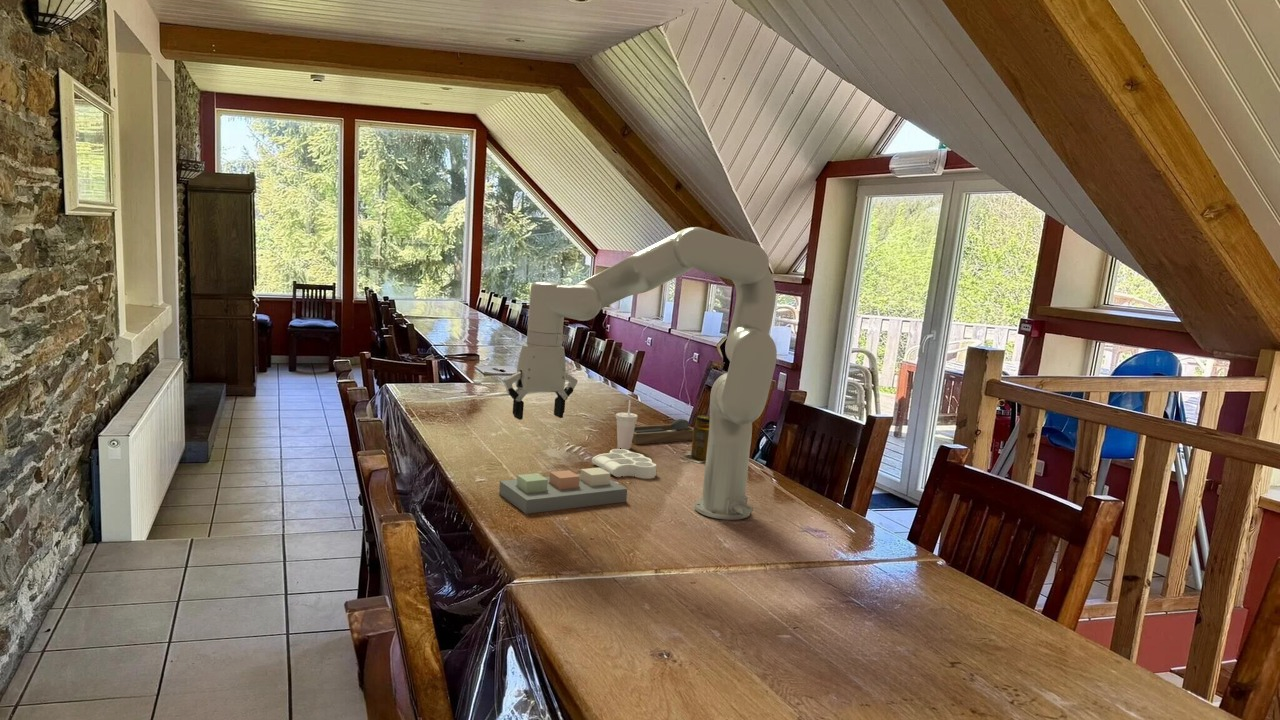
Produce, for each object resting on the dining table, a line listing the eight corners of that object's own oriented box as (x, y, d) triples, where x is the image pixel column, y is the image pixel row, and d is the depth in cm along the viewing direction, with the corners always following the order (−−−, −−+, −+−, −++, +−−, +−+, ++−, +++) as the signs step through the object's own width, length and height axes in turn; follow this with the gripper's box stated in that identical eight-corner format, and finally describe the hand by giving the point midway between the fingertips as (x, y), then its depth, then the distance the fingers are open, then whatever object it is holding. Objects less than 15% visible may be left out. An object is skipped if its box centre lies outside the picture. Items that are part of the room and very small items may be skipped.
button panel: (626, 501, 183) (627, 488, 182) (525, 513, 169) (526, 500, 169) (595, 483, 194) (596, 471, 194) (499, 493, 181) (500, 480, 180)
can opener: (680, 435, 253) (682, 416, 252) (690, 439, 249) (692, 419, 248) (630, 439, 242) (632, 419, 241) (639, 444, 238) (641, 423, 237)
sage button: (546, 497, 176) (547, 479, 176) (525, 499, 174) (526, 481, 173) (536, 490, 180) (537, 473, 180) (516, 492, 178) (517, 475, 177)
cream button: (609, 490, 185) (610, 473, 185) (590, 492, 182) (591, 475, 182) (598, 483, 189) (599, 467, 189) (579, 485, 187) (580, 469, 186)
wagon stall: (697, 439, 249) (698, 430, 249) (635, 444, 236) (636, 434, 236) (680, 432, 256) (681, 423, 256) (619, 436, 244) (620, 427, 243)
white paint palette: (585, 463, 213) (633, 459, 221) (619, 482, 198) (668, 478, 206) (586, 450, 213) (634, 447, 221) (620, 469, 198) (669, 465, 205)
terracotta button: (578, 493, 181) (579, 476, 180) (558, 495, 178) (560, 478, 177) (568, 487, 185) (569, 470, 184) (548, 489, 182) (549, 472, 182)
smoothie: (632, 451, 228) (636, 403, 226) (610, 448, 229) (614, 400, 227) (637, 446, 234) (641, 399, 232) (615, 443, 235) (619, 396, 233)
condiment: (718, 460, 227) (722, 418, 225) (698, 463, 221) (702, 421, 219) (699, 453, 232) (703, 413, 230) (679, 457, 226) (683, 415, 224)
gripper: (571, 338, 181) (565, 412, 183) (500, 336, 171) (494, 415, 173) (588, 342, 174) (581, 420, 177) (514, 341, 165) (508, 423, 167)
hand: (538, 417), depth 175 cm, fingers open, 9 cm apart
